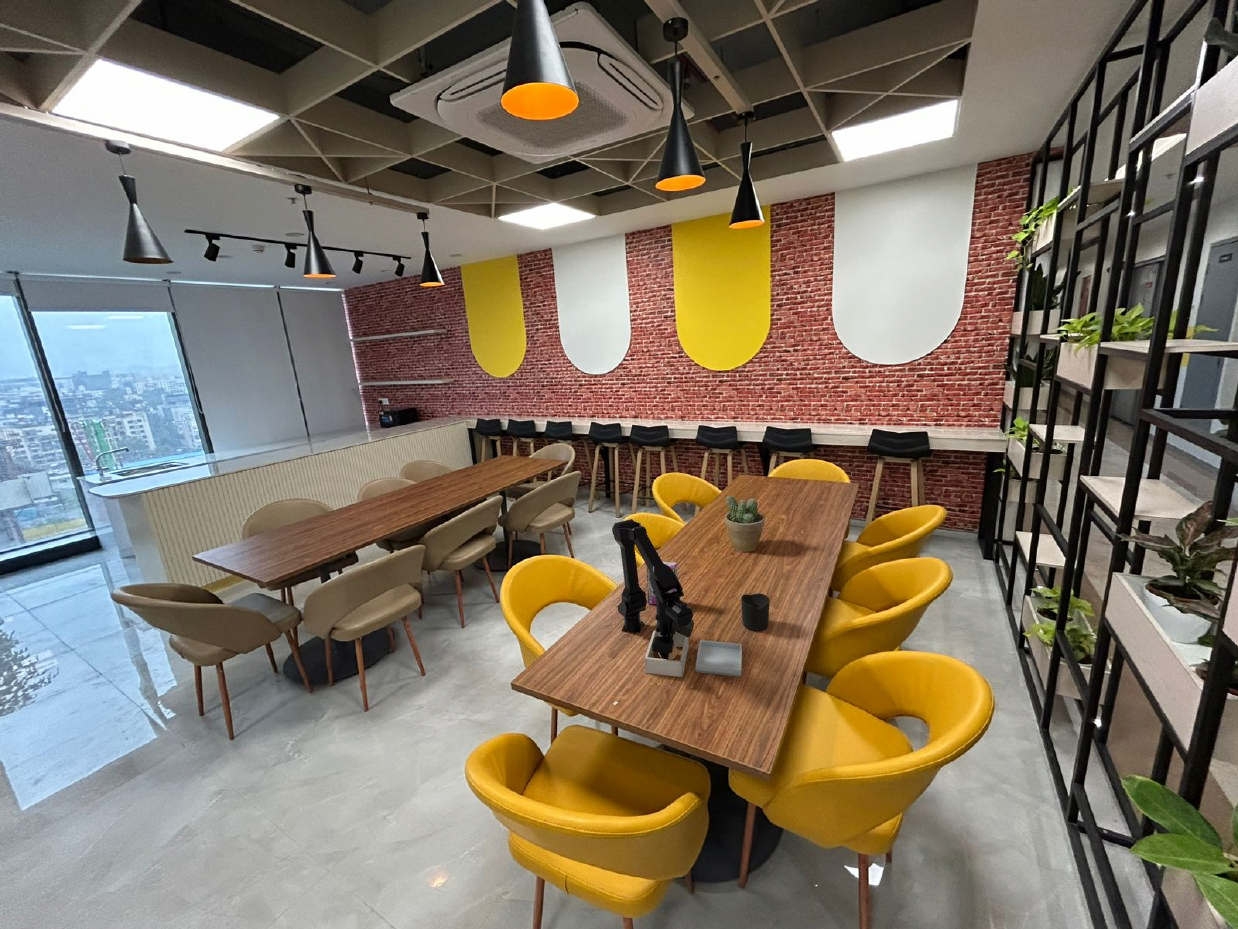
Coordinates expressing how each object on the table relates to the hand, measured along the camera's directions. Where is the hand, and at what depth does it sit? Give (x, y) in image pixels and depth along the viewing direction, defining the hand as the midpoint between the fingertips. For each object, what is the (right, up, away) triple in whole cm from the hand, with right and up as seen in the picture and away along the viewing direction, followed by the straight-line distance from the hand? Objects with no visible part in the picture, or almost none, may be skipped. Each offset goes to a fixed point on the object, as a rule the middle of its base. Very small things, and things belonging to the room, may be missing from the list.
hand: (667, 655), depth 157 cm
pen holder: (+32, +4, +16) cm, 36 cm away
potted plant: (+44, +21, +79) cm, 93 cm away
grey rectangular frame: (0, -1, 0) cm, 2 cm away
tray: (+16, -1, -2) cm, 16 cm away
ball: (0, +1, 0) cm, 2 cm away
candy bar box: (+2, +7, +34) cm, 35 cm away
